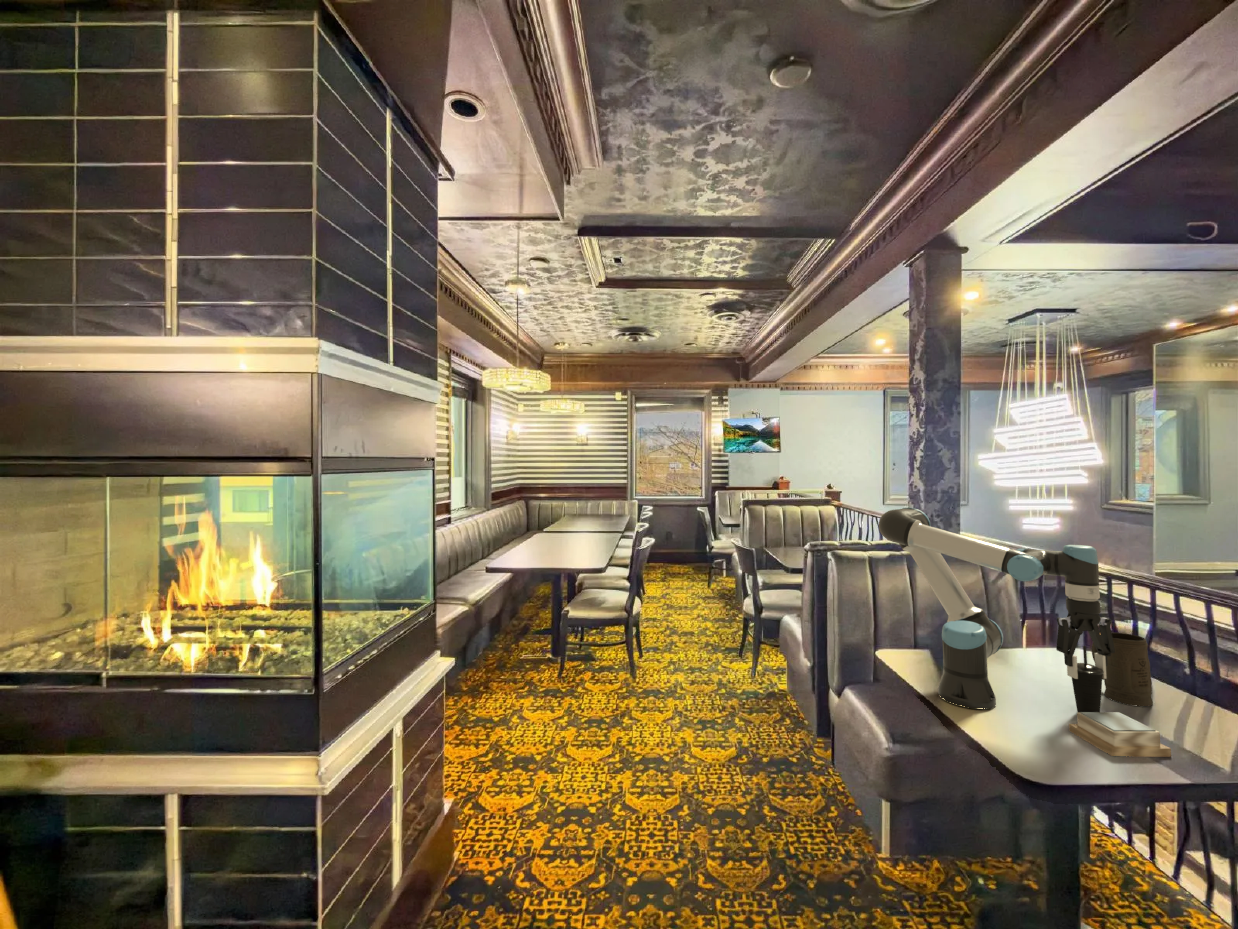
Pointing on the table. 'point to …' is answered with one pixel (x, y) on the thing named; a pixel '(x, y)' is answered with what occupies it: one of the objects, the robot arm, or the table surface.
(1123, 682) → the beer stein
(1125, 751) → the plinth
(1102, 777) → the table surface
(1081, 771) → the table surface
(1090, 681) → the drinking cup
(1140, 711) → the table surface
